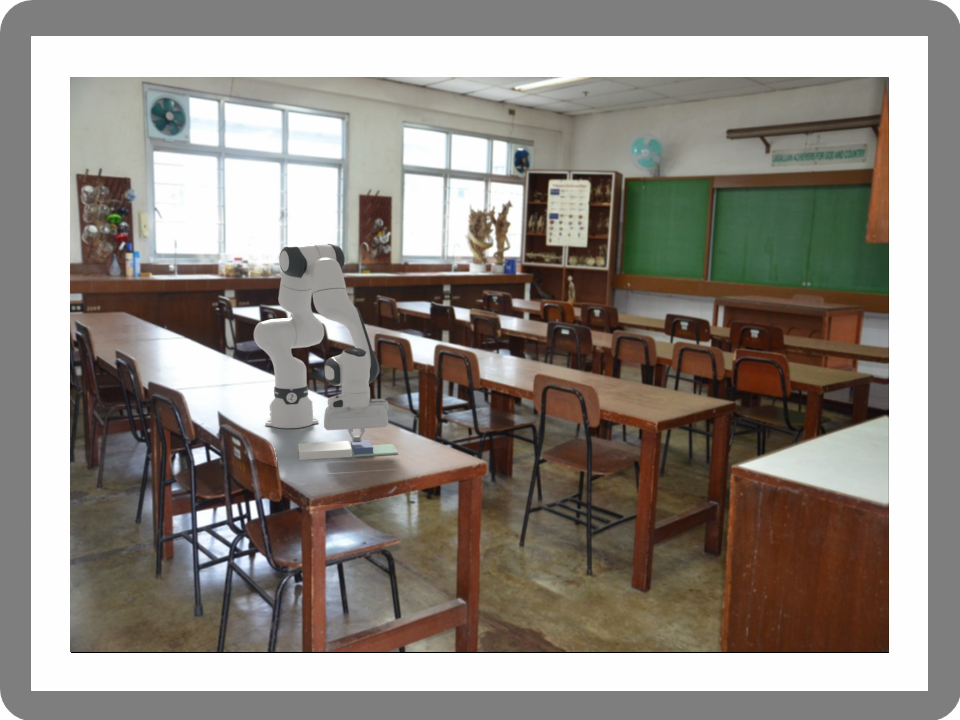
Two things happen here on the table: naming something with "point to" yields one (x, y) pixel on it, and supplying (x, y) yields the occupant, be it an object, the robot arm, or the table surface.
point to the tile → (362, 447)
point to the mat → (380, 450)
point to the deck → (324, 450)
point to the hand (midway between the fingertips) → (356, 441)
